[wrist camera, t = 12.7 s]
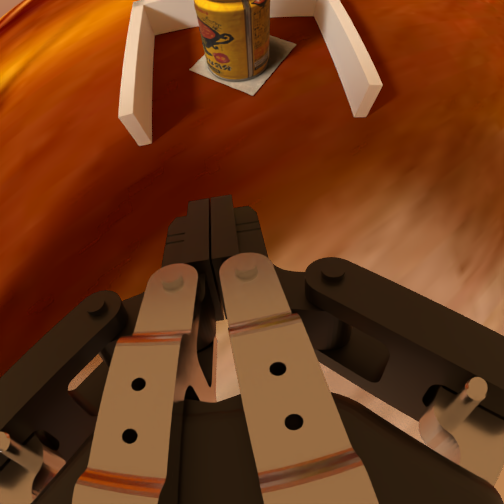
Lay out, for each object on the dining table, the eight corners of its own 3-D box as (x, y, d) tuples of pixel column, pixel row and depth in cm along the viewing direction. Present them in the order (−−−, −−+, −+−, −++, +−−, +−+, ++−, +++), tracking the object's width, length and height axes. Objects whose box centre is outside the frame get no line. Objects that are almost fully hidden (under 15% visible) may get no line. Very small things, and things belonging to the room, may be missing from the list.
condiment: (189, 71, 27) (162, -24, 15) (236, 24, 28) (229, -63, 16) (252, 97, 26) (249, -7, 15) (296, 46, 28) (308, -47, 16)
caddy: (139, 146, 26) (118, 117, 21) (145, 32, 28) (133, 2, 24) (365, 117, 26) (383, 85, 21) (320, 10, 29) (326, -21, 24)
